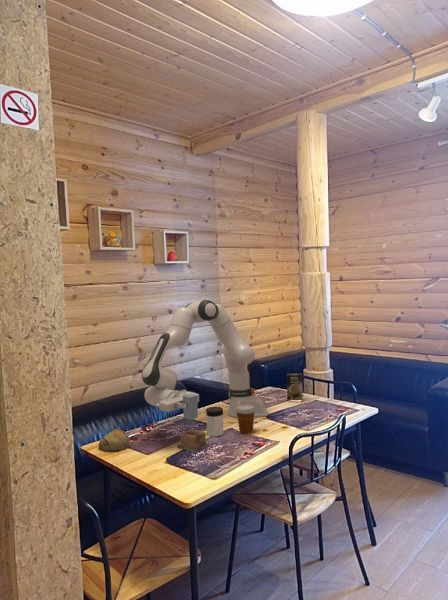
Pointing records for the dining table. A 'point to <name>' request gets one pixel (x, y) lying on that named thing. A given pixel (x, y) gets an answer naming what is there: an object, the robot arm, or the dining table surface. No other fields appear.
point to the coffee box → (294, 386)
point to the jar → (214, 421)
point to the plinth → (193, 440)
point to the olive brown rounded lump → (115, 441)
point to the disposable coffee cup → (245, 418)
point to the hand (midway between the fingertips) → (191, 404)
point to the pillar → (190, 406)
